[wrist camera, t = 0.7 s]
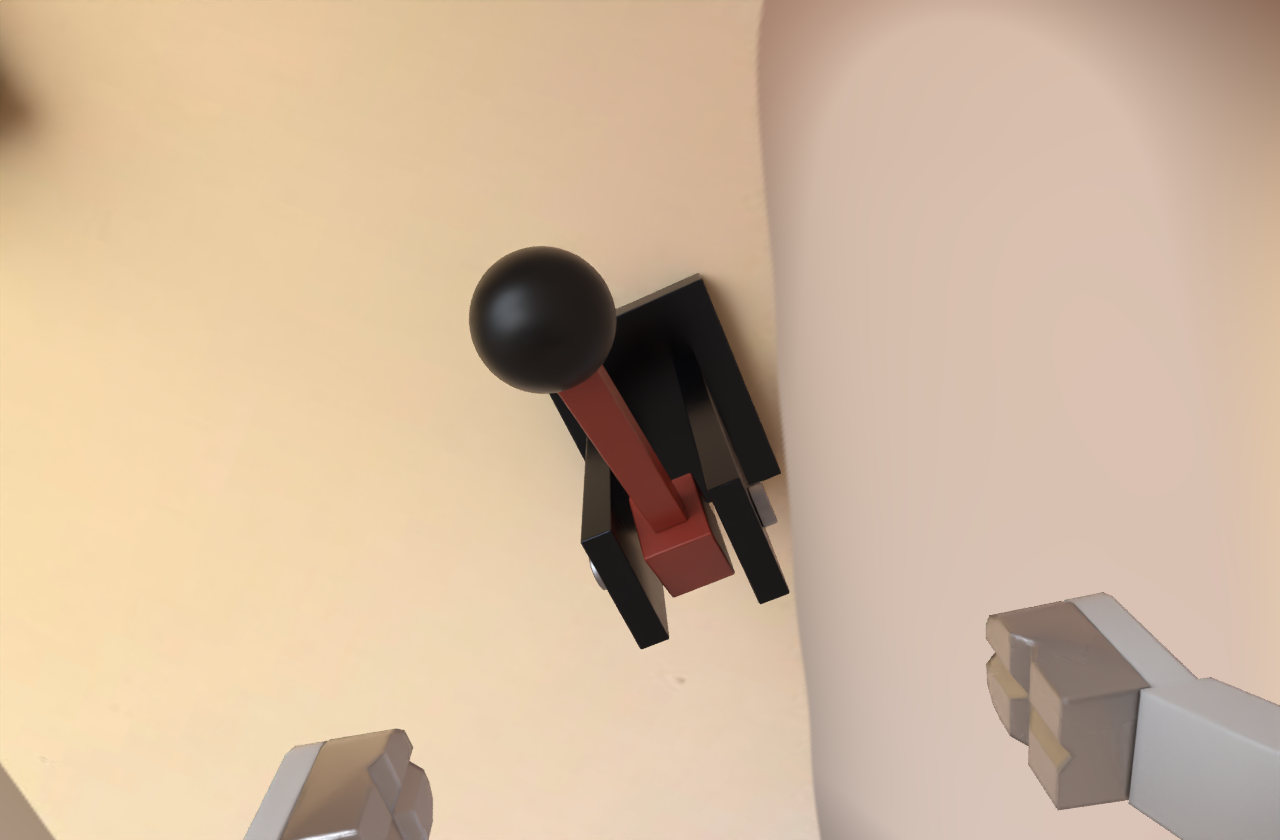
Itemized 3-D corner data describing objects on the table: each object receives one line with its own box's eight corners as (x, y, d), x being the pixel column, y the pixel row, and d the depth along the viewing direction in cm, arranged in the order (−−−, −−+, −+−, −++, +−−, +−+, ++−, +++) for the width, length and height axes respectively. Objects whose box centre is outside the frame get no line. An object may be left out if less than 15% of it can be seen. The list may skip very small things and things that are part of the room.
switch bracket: (530, 346, 32) (487, 484, 20) (698, 272, 31) (755, 371, 19) (624, 523, 36) (633, 726, 24) (776, 462, 35) (863, 642, 23)
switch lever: (438, 255, 16) (441, 348, 14) (568, 194, 16) (593, 279, 13) (640, 534, 26) (662, 615, 23) (725, 500, 25) (754, 579, 23)
